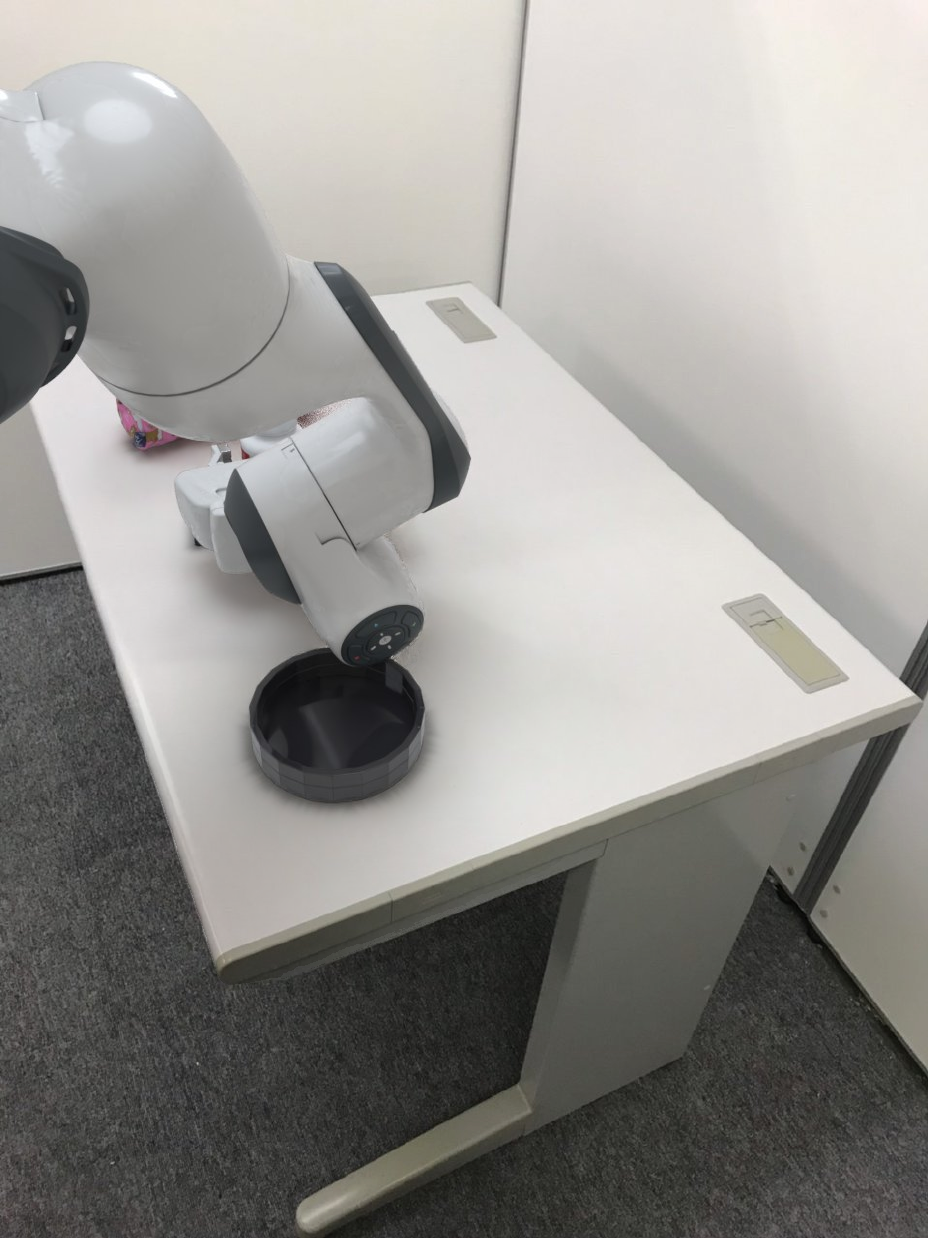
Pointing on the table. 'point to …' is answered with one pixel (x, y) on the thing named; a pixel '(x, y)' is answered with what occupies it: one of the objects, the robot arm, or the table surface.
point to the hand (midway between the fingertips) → (268, 440)
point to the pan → (336, 726)
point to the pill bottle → (268, 439)
